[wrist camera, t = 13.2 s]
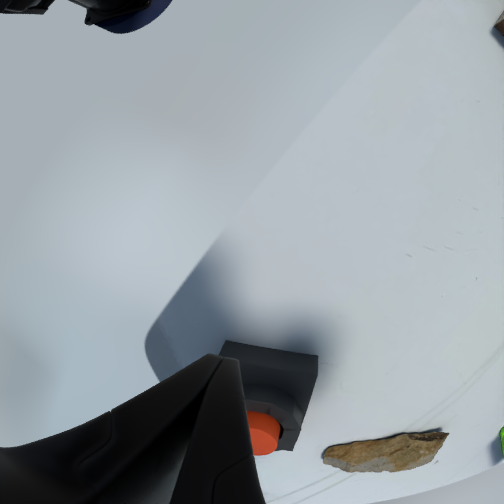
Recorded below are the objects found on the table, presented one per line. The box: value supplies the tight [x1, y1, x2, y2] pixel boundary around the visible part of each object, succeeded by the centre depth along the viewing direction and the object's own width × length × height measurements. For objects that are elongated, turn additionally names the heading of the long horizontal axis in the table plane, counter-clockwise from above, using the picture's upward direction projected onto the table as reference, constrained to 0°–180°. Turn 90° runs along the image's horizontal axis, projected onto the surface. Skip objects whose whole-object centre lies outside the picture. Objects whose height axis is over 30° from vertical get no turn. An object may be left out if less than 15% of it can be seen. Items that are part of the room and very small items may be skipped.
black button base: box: [219, 341, 318, 451], centre depth 21 cm, size 10×7×4 cm
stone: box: [323, 432, 449, 472], centre depth 22 cm, size 13×5×3 cm, turn 101°
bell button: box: [247, 411, 280, 456], centre depth 19 cm, size 4×4×2 cm
